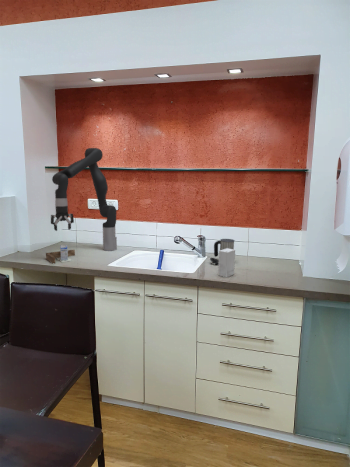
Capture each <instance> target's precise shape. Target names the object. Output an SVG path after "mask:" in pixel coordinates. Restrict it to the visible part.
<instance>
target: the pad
mask: <svg viewBox="0 0 350 467" xmlns="http://www.w3.org/2000/svg"><path fill="white" fill-rule="evenodd" d="M57 259H58V261H59V262H61V263H66V262H73V260H72V258H69V257H68V260H65V261H61V257H60V258H55V260H57Z"/></svg>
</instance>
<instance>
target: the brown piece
mask: <svg viewBox="0 0 350 467" xmlns="http://www.w3.org/2000/svg"><path fill="white" fill-rule="evenodd" d="M74 256H76V251H75V249H68V257H74ZM56 258H61V251H60V250H59V251H51V252H45V259H46V260H47V261H49V262H50V263H51V262H52V263H51V264H53V263H54V264H56Z"/></svg>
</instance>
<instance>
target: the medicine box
mask: <svg viewBox="0 0 350 467" xmlns="http://www.w3.org/2000/svg"><path fill="white" fill-rule="evenodd" d="M59 247H60V248H59V249H60V250H59V251H61V257H60V258H61V261H65V260H68V258H69V256H68V250H69V248H68V245H66V244H65V245H64V244H61V245H60V246H59ZM61 261H60V262H61Z"/></svg>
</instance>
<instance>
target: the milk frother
mask: <svg viewBox="0 0 350 467" xmlns="http://www.w3.org/2000/svg"><path fill="white" fill-rule="evenodd" d="M235 241H236V240H235V239H232V238H220V240H217V241H215V242H214V244H213V251H214V252H213V255H214V257H210V258H209V260H210V262H212V263H213V264H215V265H219V259H217V258H215V257H219V251H220V250H223V249H226V248H229V249H233V250H235V249H234V248H235Z"/></svg>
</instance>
